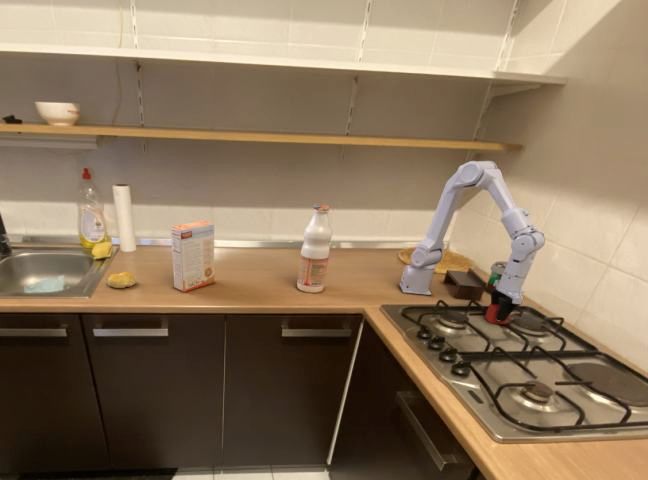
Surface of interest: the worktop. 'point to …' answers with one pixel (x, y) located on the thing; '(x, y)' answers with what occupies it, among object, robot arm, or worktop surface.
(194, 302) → the worktop surface
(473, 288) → the dark brown storage bin
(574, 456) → the worktop surface
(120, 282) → the bread roll
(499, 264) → the food container
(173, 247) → the cracker box
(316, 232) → the fruit juice
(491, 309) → the block
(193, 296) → the worktop surface
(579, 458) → the worktop surface
